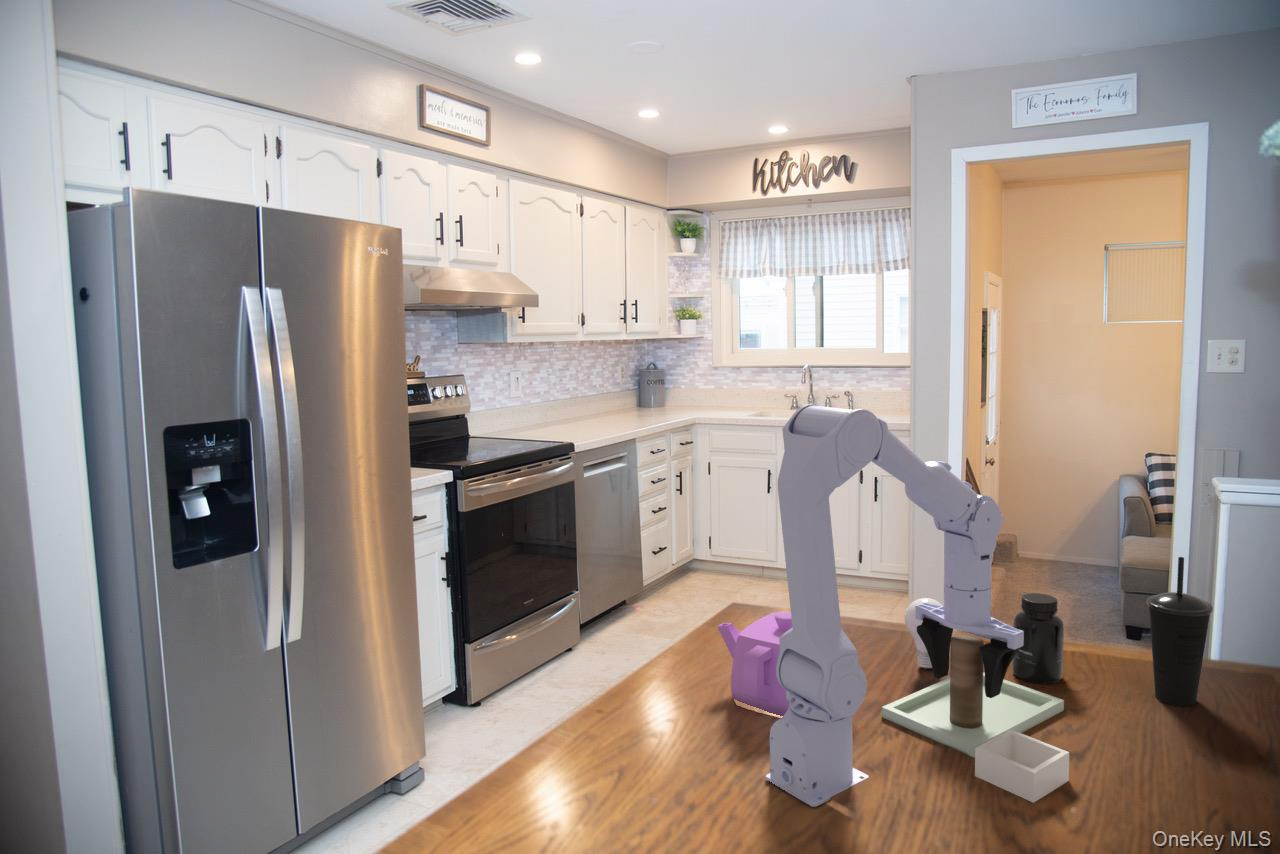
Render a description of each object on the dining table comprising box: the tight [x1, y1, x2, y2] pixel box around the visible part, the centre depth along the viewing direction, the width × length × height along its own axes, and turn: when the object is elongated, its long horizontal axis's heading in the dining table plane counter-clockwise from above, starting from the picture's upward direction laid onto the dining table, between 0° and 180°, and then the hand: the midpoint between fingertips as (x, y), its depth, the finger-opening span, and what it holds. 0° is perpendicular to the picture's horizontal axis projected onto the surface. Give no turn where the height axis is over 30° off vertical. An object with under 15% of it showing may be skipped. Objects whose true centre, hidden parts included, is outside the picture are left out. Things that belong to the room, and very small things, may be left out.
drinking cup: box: [1146, 556, 1214, 707], centre depth 118 cm, size 8×8×20 cm
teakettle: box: [717, 611, 792, 716], centre depth 124 cm, size 17×17×12 cm
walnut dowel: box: [949, 634, 985, 729], centre depth 113 cm, size 4×4×11 cm
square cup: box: [974, 729, 1070, 804], centre depth 100 cm, size 7×7×4 cm
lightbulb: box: [904, 597, 944, 670], centre depth 132 cm, size 6×6×11 cm
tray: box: [881, 671, 1065, 759], centre depth 116 cm, size 20×14×2 cm
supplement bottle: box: [1011, 592, 1065, 685], centre depth 128 cm, size 7×7×12 cm
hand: (966, 685), depth 113 cm, fingers open, 7 cm apart
